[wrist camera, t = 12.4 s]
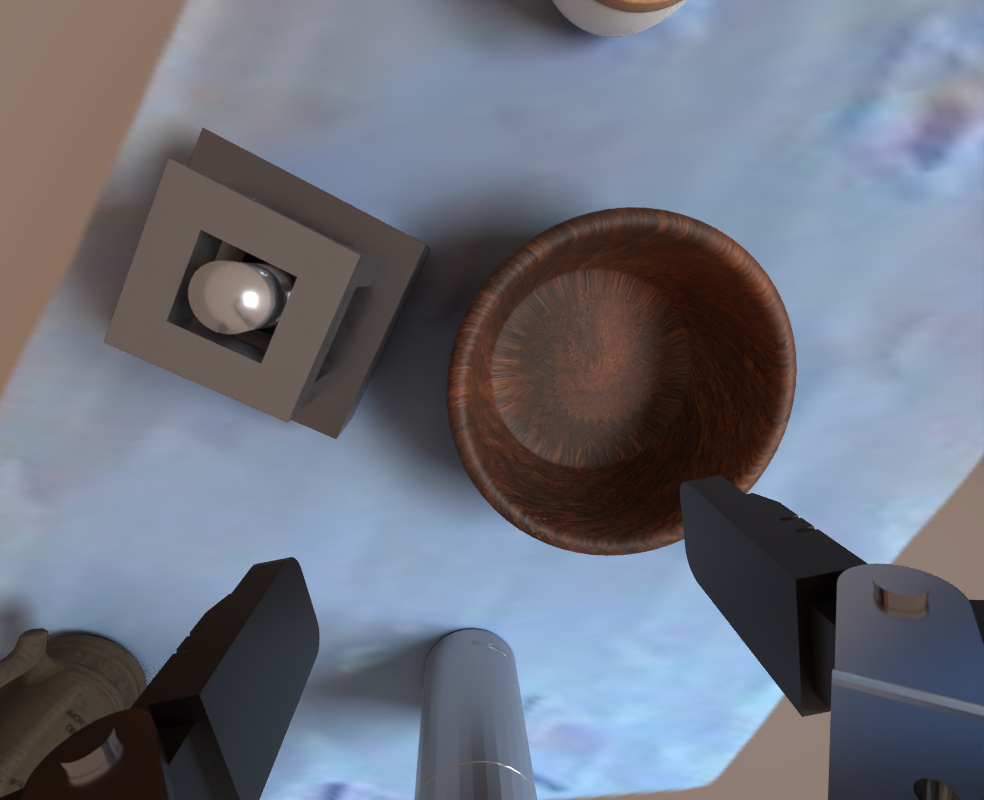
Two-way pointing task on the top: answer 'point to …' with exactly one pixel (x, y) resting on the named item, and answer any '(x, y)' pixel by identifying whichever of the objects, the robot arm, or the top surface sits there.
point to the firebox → (287, 245)
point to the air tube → (239, 295)
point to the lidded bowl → (617, 15)
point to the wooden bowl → (619, 378)
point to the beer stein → (58, 695)
